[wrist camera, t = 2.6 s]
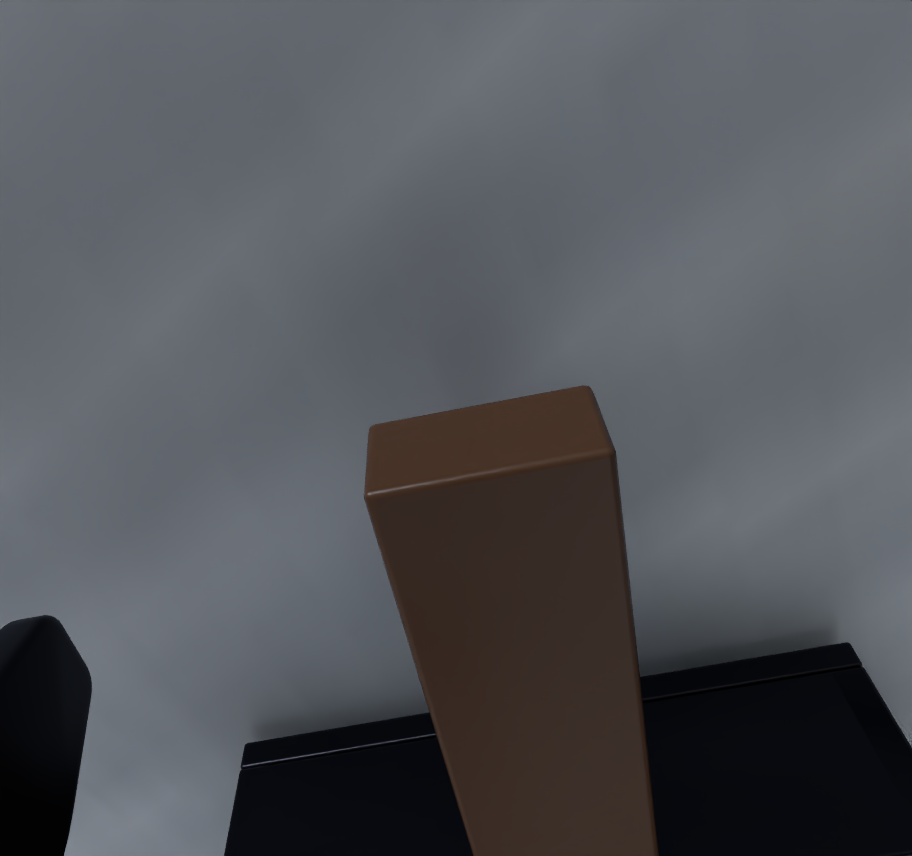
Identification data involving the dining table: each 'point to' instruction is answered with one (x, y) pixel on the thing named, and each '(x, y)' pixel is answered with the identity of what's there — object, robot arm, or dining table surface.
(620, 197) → the dining table surface
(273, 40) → the dining table surface
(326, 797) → the pan
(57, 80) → the dining table surface
